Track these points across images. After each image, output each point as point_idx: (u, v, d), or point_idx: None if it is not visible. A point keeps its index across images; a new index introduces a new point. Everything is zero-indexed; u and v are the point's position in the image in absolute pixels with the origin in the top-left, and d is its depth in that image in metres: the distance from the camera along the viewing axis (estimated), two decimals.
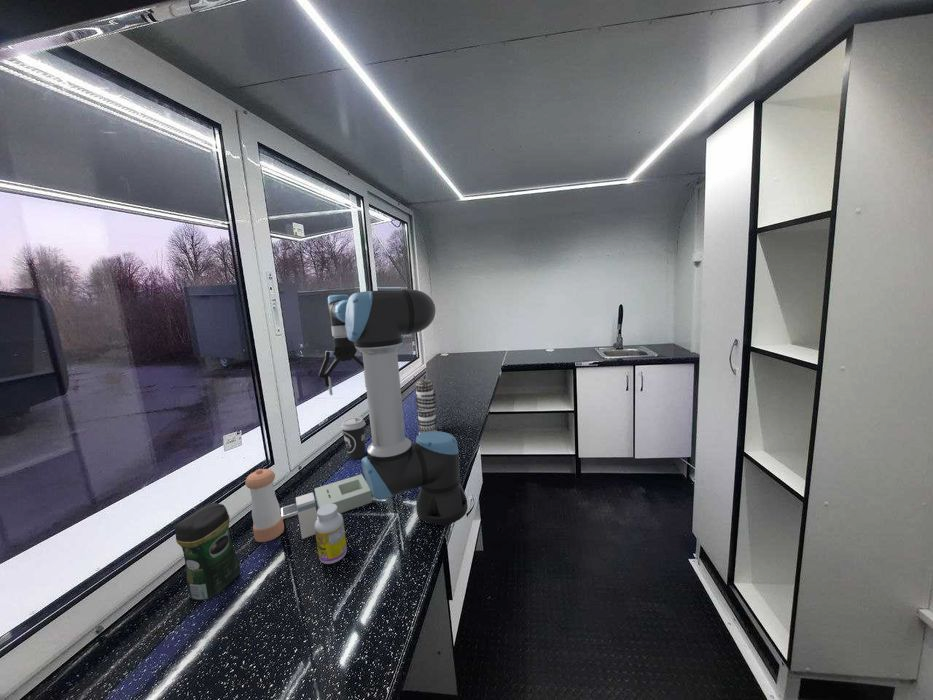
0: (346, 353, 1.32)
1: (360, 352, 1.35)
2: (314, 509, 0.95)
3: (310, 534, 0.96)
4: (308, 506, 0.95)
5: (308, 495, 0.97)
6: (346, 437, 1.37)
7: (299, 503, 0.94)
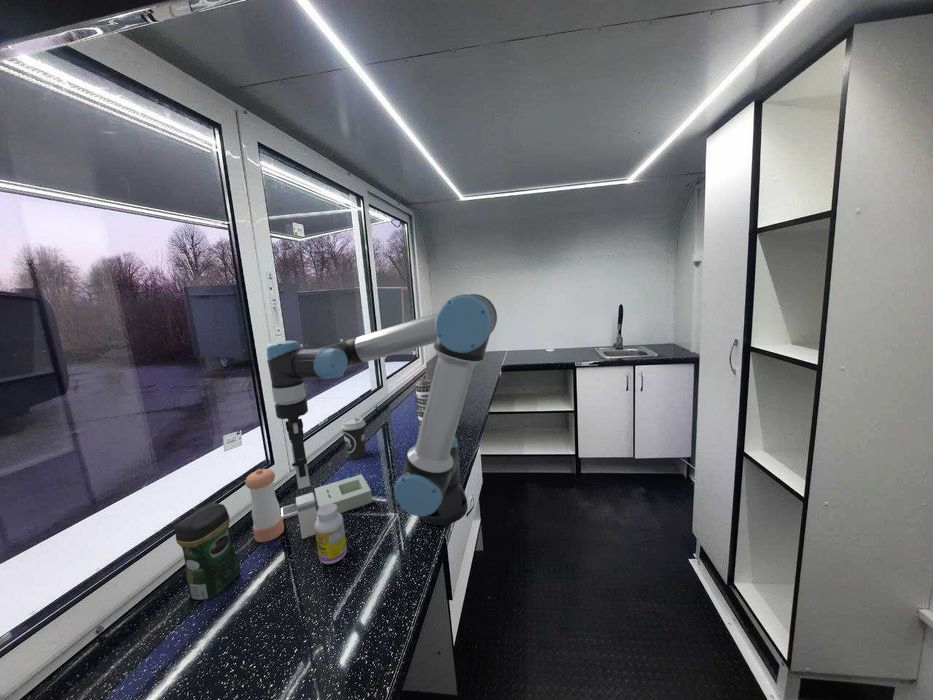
0: None
1: None
2: (314, 509, 0.95)
3: (310, 534, 0.96)
4: (308, 506, 0.95)
5: (308, 495, 0.97)
6: (346, 437, 1.37)
7: (299, 503, 0.94)
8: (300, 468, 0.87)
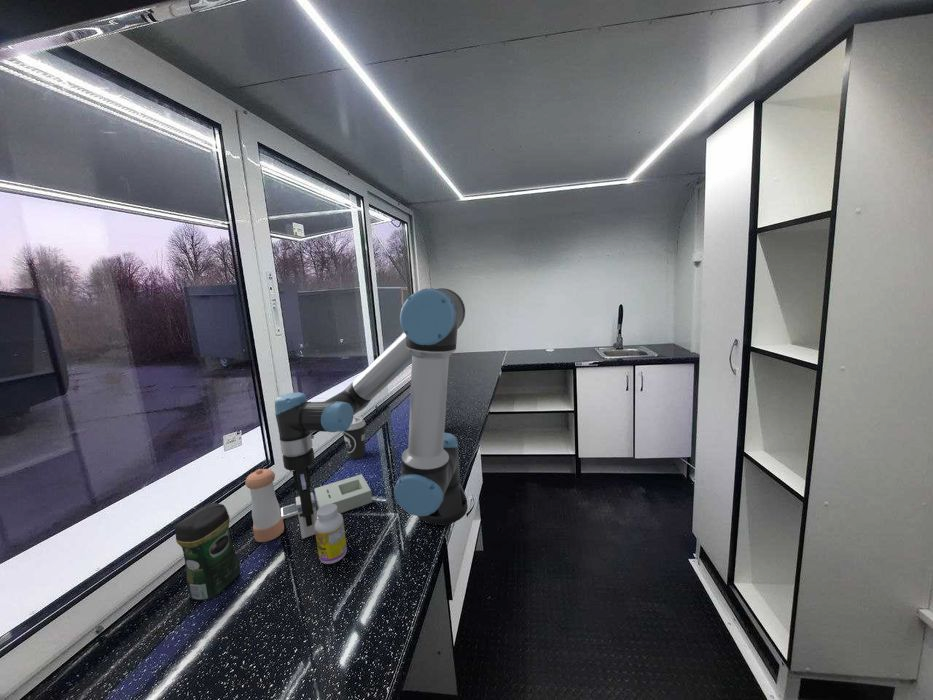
0: (296, 473, 0.94)
1: None
2: (314, 509, 0.95)
3: None
4: None
5: None
6: (346, 437, 1.37)
7: (299, 503, 0.94)
8: (307, 518, 0.93)
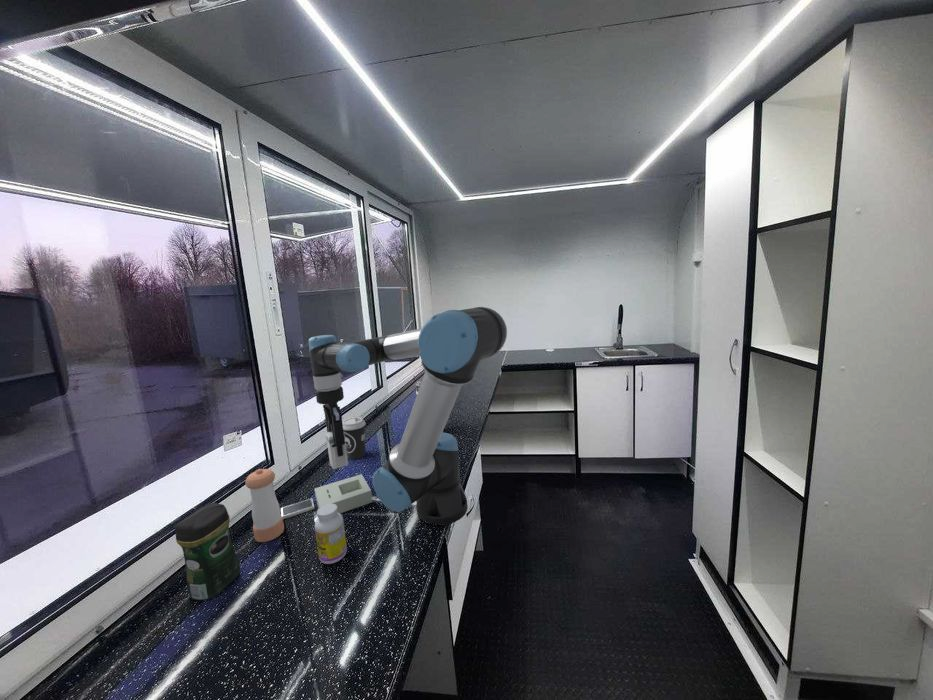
0: (327, 408, 1.03)
1: None
2: None
3: None
4: None
5: None
6: (346, 437, 1.37)
7: (330, 436, 1.03)
8: (339, 448, 1.02)
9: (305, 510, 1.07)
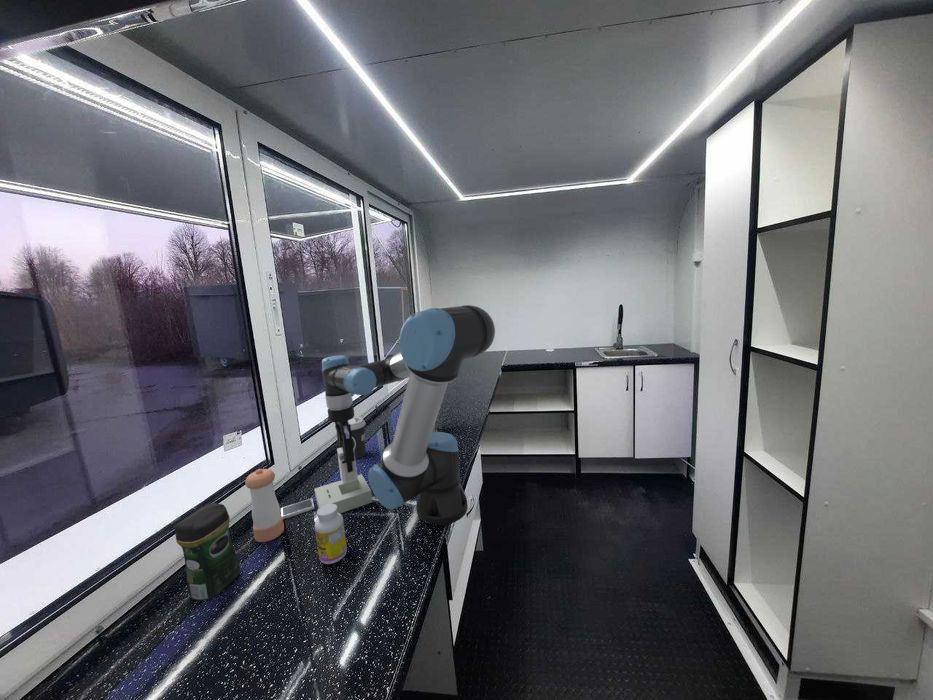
0: (339, 426, 1.07)
1: None
2: None
3: None
4: None
5: None
6: None
7: (341, 452, 1.07)
8: (348, 465, 1.07)
9: (305, 510, 1.07)
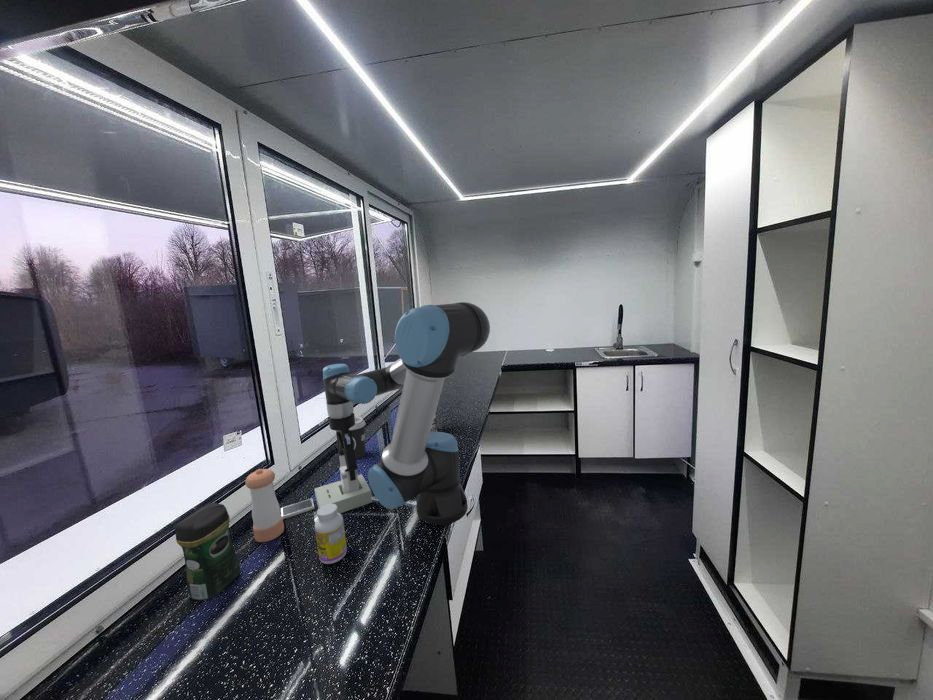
0: (340, 434, 1.08)
1: None
2: None
3: None
4: None
5: None
6: None
7: (344, 471, 1.08)
8: (351, 473, 1.04)
9: (305, 510, 1.07)
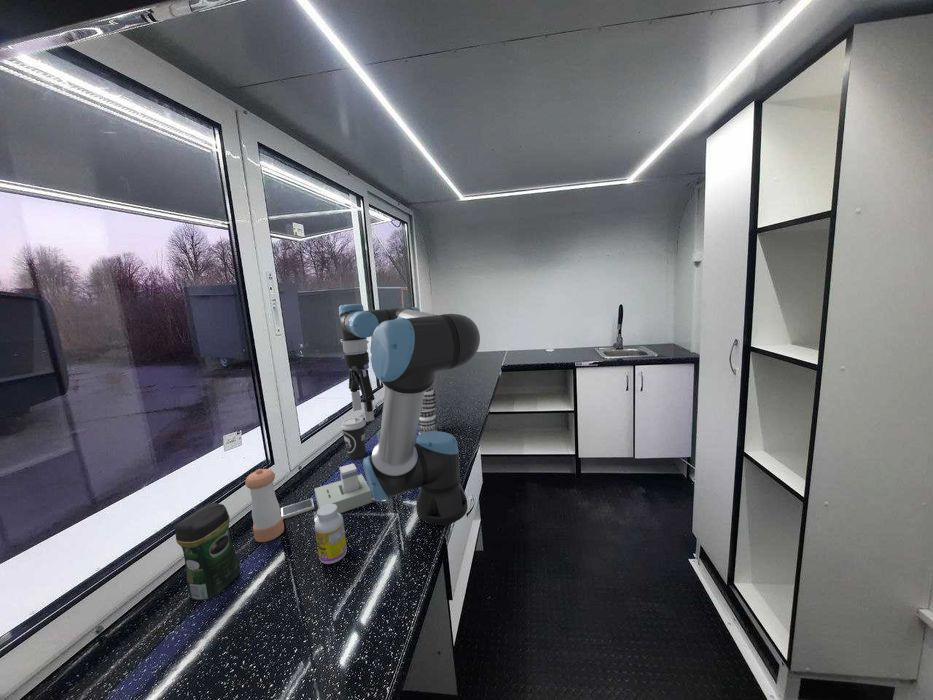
0: None
1: None
2: (356, 477, 1.10)
3: None
4: (351, 474, 1.09)
5: (350, 465, 1.12)
6: (346, 437, 1.37)
7: (344, 471, 1.08)
8: (368, 404, 1.08)
9: (305, 510, 1.07)
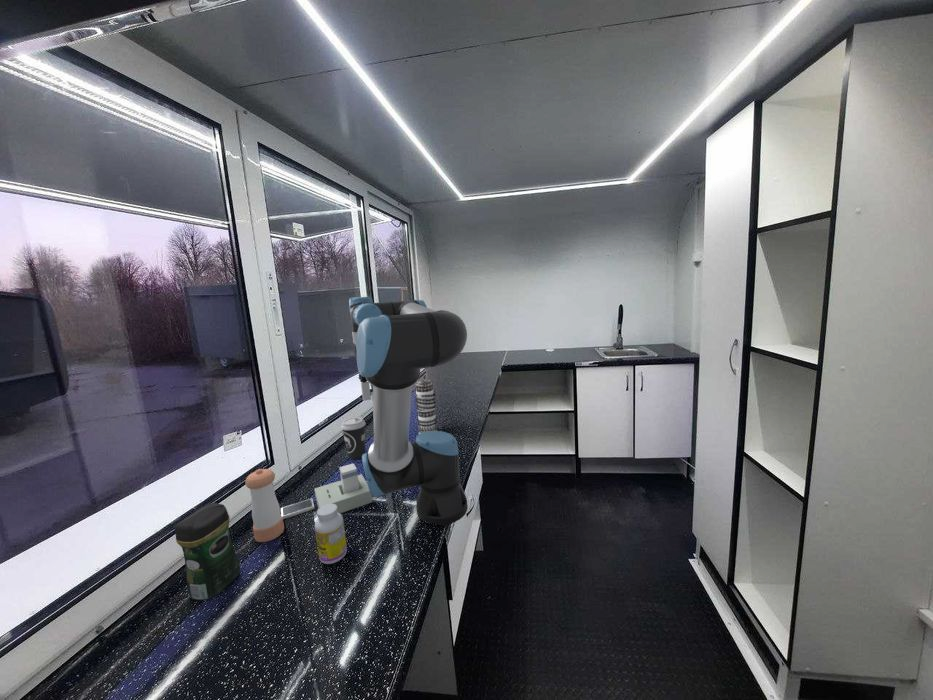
0: None
1: None
2: (356, 477, 1.10)
3: None
4: (351, 474, 1.09)
5: (350, 465, 1.12)
6: (346, 437, 1.37)
7: (344, 471, 1.08)
8: None
9: (305, 510, 1.07)
